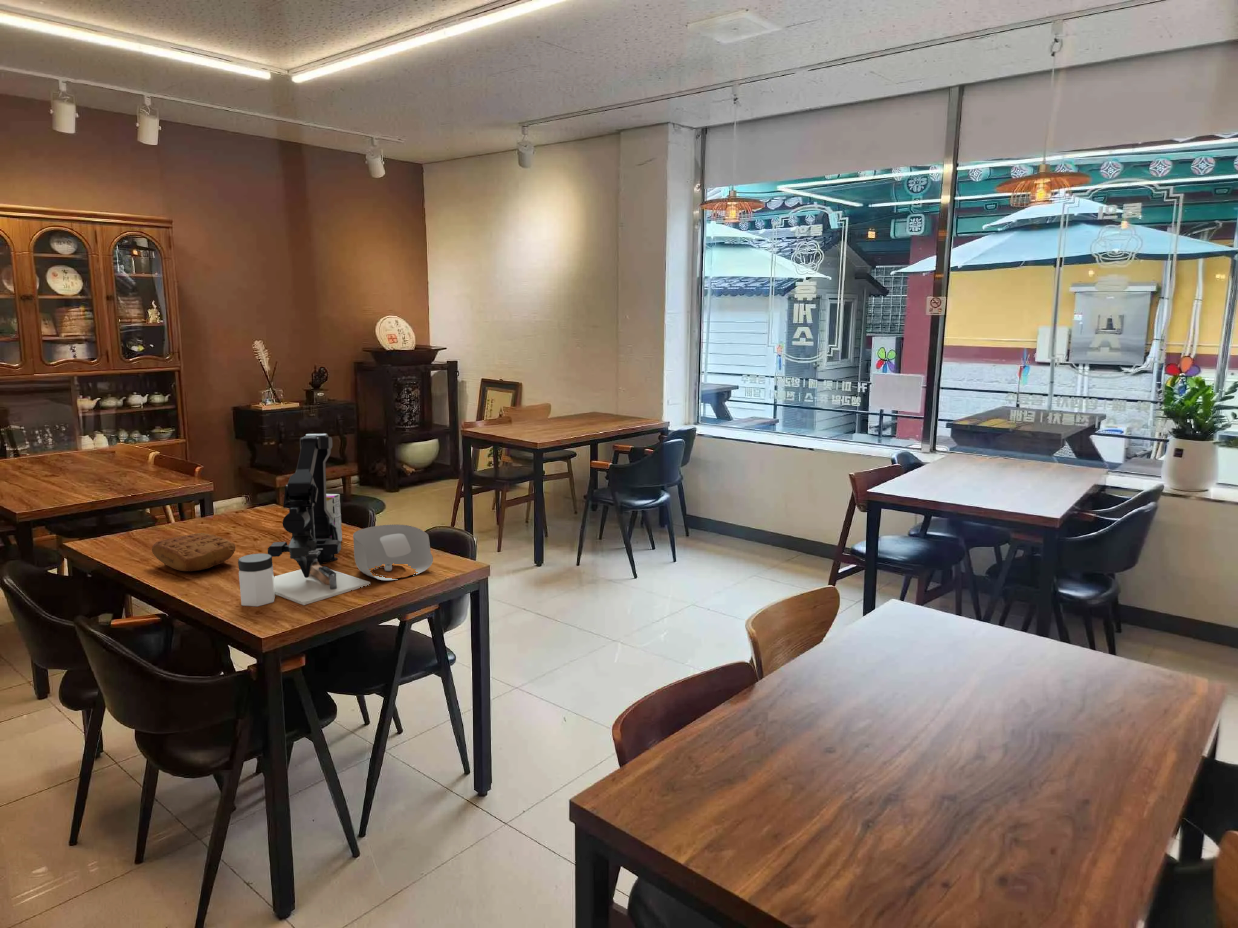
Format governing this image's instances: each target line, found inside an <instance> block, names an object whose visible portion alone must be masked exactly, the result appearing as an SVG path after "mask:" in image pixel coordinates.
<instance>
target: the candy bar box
mask: <svg viewBox="0 0 1238 928" xmlns="http://www.w3.org/2000/svg"><path fill="white" fill-rule="evenodd" d="M326 502H327V510H328V512H329V513H330V515H331V516H332V519H333V523H334V525H335V527H336V529H337V533H338V540H339V541H340V542H342V541H343V531H342V529H343V528H342V514H341V513H342V511H341V509H342V508H341V494H339V493H326ZM331 537H332V536H331Z"/></svg>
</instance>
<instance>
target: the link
mask: <svg viewBox="0 0 1238 928" xmlns="http://www.w3.org/2000/svg"><path fill="white" fill-rule="evenodd" d="M319 567H323V566H322V565H321V564H319V562H317V563H314V564H312V567H311V571H310V574H312V575H313V576H315V577H316V578H317V579H319V580H320V581H322V582H323V583H324V584H327V585H330V583H329V577H327V576H326V575H325V574H323V573H322V572H321V571H319Z"/></svg>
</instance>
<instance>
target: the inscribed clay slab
mask: <svg viewBox="0 0 1238 928" xmlns="http://www.w3.org/2000/svg"><path fill="white" fill-rule="evenodd" d="M235 551H236V544H235V543H234V542H233V541H231V540H229V539H227V538H223V537H221V536H217V535H215V534H209V533H204V532H201V533H199V532H198V533H192V534H191V533H190V534H187V535H181V536H175V537H172V538H165V539H161V540H159V541H156V542H155V543H153V544H152V547H151V553H152V555H153V556H154V557H155V558H156V559H157V560H158V561H159V562H161V563H163V564H164V565H166V566H168V567H170V568H172V569H174V570H177V571H181V572H197V571H203V570H205V569H206V570H207V569H210V568H212V567H213V566H217V565H221V564H222V563H225V562H226V561H227V560H229V559H230V558H232V557H233V555H234V554H235Z"/></svg>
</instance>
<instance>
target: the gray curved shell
mask: <svg viewBox="0 0 1238 928" xmlns="http://www.w3.org/2000/svg"><path fill="white" fill-rule="evenodd" d="M429 536H430V535H429V534H428V533H427V532H426V531H425V530H422V529H421V528H418V527H416V526H412V525H407V524H382V525H375V526H370V527H365V528H361V529H358V530H356V531H355V532H353V533H352V538H353V539H352V540H353V554H354V562H355V565H356V567H357V568H358V570H359V571H360V572H361V573H363V574H364V575H366V576H368V577H371V578H374V579H377V580H381V581H394V580H395V581H397V579H392V578H385V577H383V576H384V575H381V576H382V577H379V576H373V575H372V573H371V572H370V571H371V570H369V569H371V568H375V566H377V567H378V566H379V567H380V566H381V565H382V564H385V567H383V568H384V571H385V572H391V571H392V570H393V566H392V564H393V563H394V564H408V566H411V568H413V569H416V570H415V571H416V572H418V573H416V575H419V574H420V573H423V572H425V571H426V570H428V569H430V567H431V566H432V564H433V562H434V557H433V555H432V552H431V544H430V537H429ZM377 567H376V569H375V570H376V571H377V570H378V569H379V568H377ZM380 568H381V567H380ZM414 574H415V573H414Z"/></svg>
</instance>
